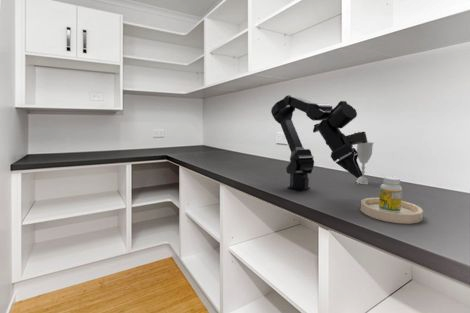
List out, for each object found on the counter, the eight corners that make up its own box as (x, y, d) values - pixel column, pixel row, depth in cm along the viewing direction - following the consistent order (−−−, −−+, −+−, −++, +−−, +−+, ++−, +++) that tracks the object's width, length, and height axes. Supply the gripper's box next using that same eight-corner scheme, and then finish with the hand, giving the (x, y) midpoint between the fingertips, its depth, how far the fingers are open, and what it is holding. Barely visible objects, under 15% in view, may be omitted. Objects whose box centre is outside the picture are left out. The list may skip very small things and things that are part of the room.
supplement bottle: (404, 213, 70) (407, 180, 68) (385, 213, 70) (388, 180, 68) (392, 207, 75) (395, 176, 74) (374, 207, 75) (377, 176, 74)
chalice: (374, 184, 107) (377, 142, 104) (359, 184, 106) (362, 142, 104) (364, 180, 114) (367, 141, 111) (350, 181, 113) (352, 141, 111)
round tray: (351, 212, 73) (352, 204, 73) (372, 202, 83) (373, 195, 82) (411, 228, 62) (412, 219, 61) (428, 214, 71) (429, 206, 71)
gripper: (352, 116, 71) (386, 163, 66) (357, 125, 87) (385, 163, 83) (318, 138, 76) (347, 183, 71) (329, 143, 92) (353, 180, 87)
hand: (360, 176), depth 78 cm, fingers open, 9 cm apart
